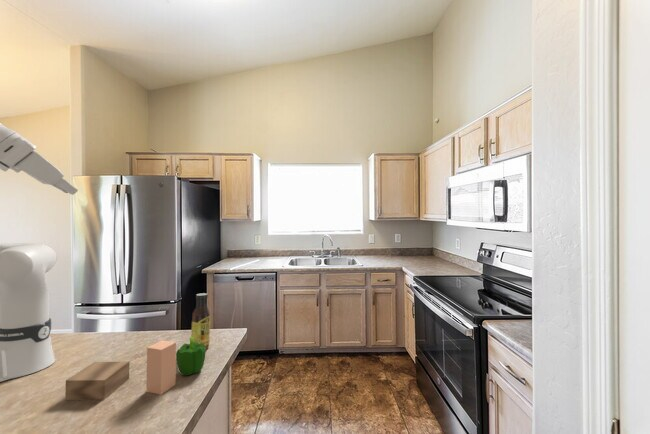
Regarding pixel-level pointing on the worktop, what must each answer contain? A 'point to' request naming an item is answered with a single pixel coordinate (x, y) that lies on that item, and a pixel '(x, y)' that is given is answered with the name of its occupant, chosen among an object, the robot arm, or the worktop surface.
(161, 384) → the terracotta block
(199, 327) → the sauce bottle
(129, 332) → the worktop surface
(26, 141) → the robot arm
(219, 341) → the worktop surface
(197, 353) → the bell pepper
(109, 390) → the walnut block
